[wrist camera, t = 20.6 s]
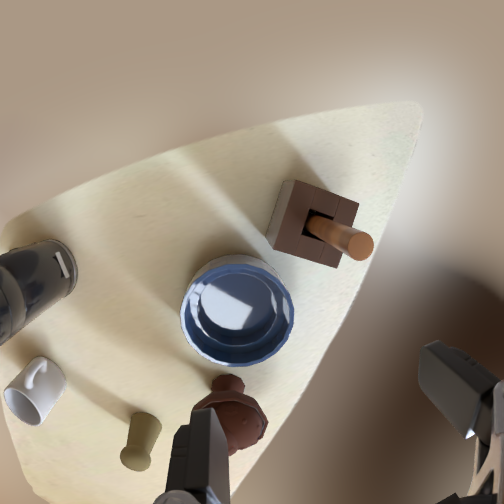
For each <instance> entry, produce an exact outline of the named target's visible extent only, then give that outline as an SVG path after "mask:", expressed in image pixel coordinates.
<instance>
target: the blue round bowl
mask: <svg viewBox="0 0 504 504" xmlns="http://www.w3.org/2000/svg"><path fill="white" fill-rule="evenodd" d="M180 319H181V328H182V330H183V332H184V335H185V337H186V339H187V341H188V343H189V344H190V345H191V346H192V347H193V348H194V349H195V350H196V351H197V352H198V354H200V355H201V356H203V357H205V358H206V359H208V360H210V361H211V362H213V363H217V364H221V365H225V366H229V367H245V366H250V365H253V364H257V363H260V362H263V361H265V360H266V359H268V358H269V357H271V356H272V355H274V354H275V353H277V352H278V351H279V350H280V348H281V347H282V346H283V345H284V344H285V342H286V341H287V340H288V337H289V335H290V332H291V330H292V328H293V324H294V307H293V304H292V300H291V297H290V294H289V292H288V290H287V288H286V286H285V284H284V282H283V280H282V279H281V278H280V276H279V275H278V274H277V272H276V271H275V270H274V269H273V268H272V267H271V266H269V265H268V264H266V263H265V262H263V261H262V260H261V259H258V258H254V257H251V256H248V255H244V254H239V255H225V256H222V257H219V258H216V259H213V260H211V261H209V262H208V263H207V264H205V265H204V266H203V267H201V268H200V269H199V270H198V271H197V272H196V274H195V275H194V277H193V278H192V280H191V281H190V283H189V285H188V287H187V290H186V292H185V294H184V297H183V301H182V305H181V309H180Z"/></svg>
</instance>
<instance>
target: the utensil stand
mask: <svg viewBox="0 0 504 504" xmlns="http://www.w3.org/2000/svg"><path fill="white" fill-rule="evenodd" d="M358 207H359V203H357V202H354V201H352V200H349V199H347V198H344V197H341V196H339V195H336V194H334V193H331V192H328V191H326V190H323V189H320V188H317V187H315V186H312V185H309V184H306V183H304V182H301V181H298V180H289V181H283V184H282V187H281V191H280V194H279V197H278V200H277V203H276V206H275V209H274V212H273V215H272V218H271V221H270V224H269V227H268V231H267V234H266V237H265V238H266V239H267V241H268V242H269V244H270V245H271V247H272V248H273V249H274V250H278V251H281V252H284V253H287V254H291V255H294V256H297V257H300V258H304V259H307V260H310V261H313V262H317V263H320V264H323V265H327V266H330V267H333V268H336V269H337V267H338V265H339V262H340V259H341V257H342V254H343V252H341V251H340V250H338V249H336V248H335V247H333V246H332V245H330V244H328V243H327V242H325V241H323V240H322V239H320V238H318V237H317V236H315V235H313V234H312V233H310V232H307V231H304V230H303V227H304V224H305V221H306V218H307V215H308V212H309V209H310V210H313V211H316V212H315V215H318V216H321V217H324V218H327V219H330V220H332V221H335V222H338V223H341V224H344V225H346V226H349V227H352V225H353V222H354V219H355V216H356V213H357V210H358Z"/></svg>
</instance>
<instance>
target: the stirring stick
mask: <svg viewBox="0 0 504 504" xmlns="http://www.w3.org/2000/svg"><path fill="white" fill-rule="evenodd" d="M303 229H305V230H307V231H308V232H310V233H312V234H313V235H315V236H317V237H318V238H320V239H322V240H323V241H325V242H327V243H328V244H330V245H332V246H333V247H335V248H336V249H338V250H340V251H341V252H343V253H344V254H346V255H348V256H349V257H351V258H352V259H354V260H357V261H362V260H365V259H367V258H368V257H369V256H370V255H371V253H372V251H373V248H374V243H373V239H372V238H371V236H370V235H369V234H367V233H365V232H363V231H360V230H357V229H355V228H352V227H349V226H346V225H344V224H341V223H338V222H335V221H332V220H330V219H327V218H324V217H321V216H318V215H315V214H313V213H310V212H308V215H307V218H306V221H305V224H304V227H303Z"/></svg>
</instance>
